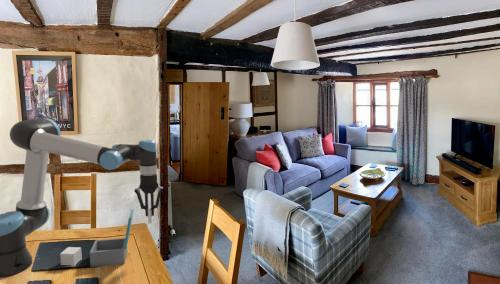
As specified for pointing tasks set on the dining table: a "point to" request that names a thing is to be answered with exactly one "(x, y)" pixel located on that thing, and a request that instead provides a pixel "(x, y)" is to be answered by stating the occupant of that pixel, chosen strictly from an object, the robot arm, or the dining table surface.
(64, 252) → the light grey cube
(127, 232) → the lid
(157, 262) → the dining table surface
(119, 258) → the box
